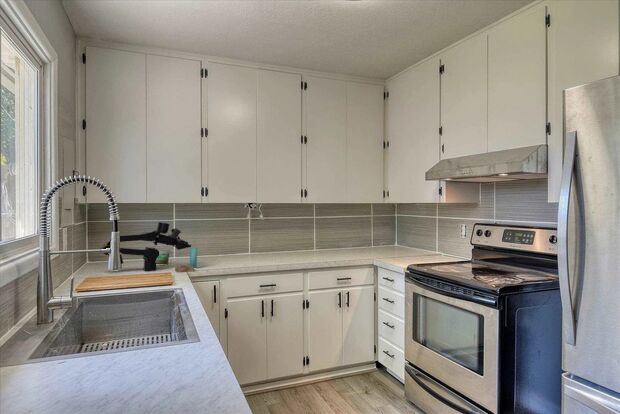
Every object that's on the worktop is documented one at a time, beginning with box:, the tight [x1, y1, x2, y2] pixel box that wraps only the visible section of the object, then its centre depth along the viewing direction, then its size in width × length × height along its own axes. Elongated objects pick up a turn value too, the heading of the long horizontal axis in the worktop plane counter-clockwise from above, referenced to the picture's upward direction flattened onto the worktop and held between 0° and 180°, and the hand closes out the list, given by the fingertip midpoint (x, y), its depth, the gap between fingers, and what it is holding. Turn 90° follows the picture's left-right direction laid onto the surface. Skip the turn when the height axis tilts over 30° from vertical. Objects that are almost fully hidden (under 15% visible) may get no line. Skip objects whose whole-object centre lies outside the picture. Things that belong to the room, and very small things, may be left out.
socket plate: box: [174, 265, 195, 273], centre depth 237 cm, size 9×9×2 cm
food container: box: [156, 249, 171, 265], centre depth 263 cm, size 12×6×10 cm, turn 105°
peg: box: [189, 247, 198, 268], centre depth 248 cm, size 4×4×13 cm
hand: (189, 244), depth 251 cm, fingers open, 9 cm apart
